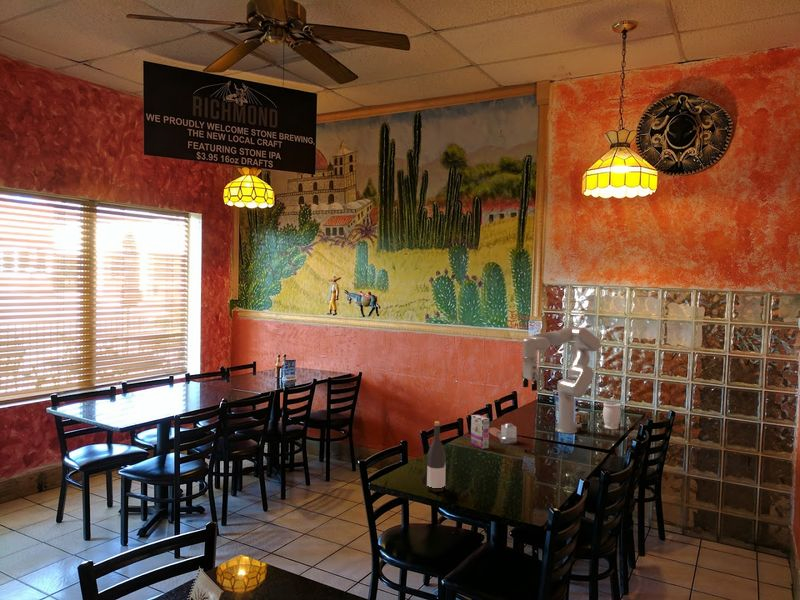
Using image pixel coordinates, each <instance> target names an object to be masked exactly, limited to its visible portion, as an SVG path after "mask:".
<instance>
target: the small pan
mask: <svg viewBox="0 0 800 600" xmlns="http://www.w3.org/2000/svg"><path fill="white" fill-rule="evenodd" d="M489 434H491V435H492V436H494V437H495V438H498V439H499V441H500V443H501V444H503V443H504V444H503V445H516V444H517V441H518V439H517V438H518V437H517V436H516V438H509V439H506V438H504V437H502V436H501V430H500V429H498V428H497V427H494V426H493V427H489ZM515 443H516V444H515Z"/></svg>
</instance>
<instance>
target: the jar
mask: <svg viewBox="0 0 800 600" xmlns="http://www.w3.org/2000/svg"><path fill="white" fill-rule="evenodd" d="M621 406H622V405H621V404H620V403H619V402H612V401H606V402H603V409H602V416H603V417H602V418H603V422H604V428H605V429H607V430H608V429H609V430H619V425H620V421H621V416H622V414H621V413H622V412H621Z"/></svg>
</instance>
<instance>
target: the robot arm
mask: <svg viewBox="0 0 800 600" xmlns="http://www.w3.org/2000/svg"><path fill="white" fill-rule="evenodd" d="M570 342H574V347H575V350H576V351H575V352H576V353H575V357H574V359H573V361H572V363H571V364H570V366H569V368H568V370H567V376H568V378H561V379H560V380H559V381H558V382H557V386H556V387H557V388H556V390H557V394H558V418H557V419H558V420H557V421H558V422H557V424H558V425H557V426H556V427H555V429H554V430H555V431H556V432H557V433H562V434H568V435H569V434H576V433H577V432H578V430H577V428H582V427H583V426H582V424H581V423H579V424H578V423H575V420H576V419H575V418H576V400H575V398H577V399H579V398H582V397H584V395H585V394H586V392H587V390H588V389H589V387H590V385H591V383H592V381H593V379H594V369H592V367H590V366H589V363H590V353H589V352H596V351H599V349H600V348H601V342H600V339H599V338H598V337H597V336H595V335H594V334H593V333H592V332H590V331H589V330H588V329H586V328H584V327H579V326H569V327H566V328H562V329H559V330H554V331H546V332H540V333H539V332H538V333H536V334H532V335H531V336H529V337H525V338H523V339H522V362H523V363H522V371H521V377H522V386H523V388H529V381H530V382H531V391H532V392H533V391H538V382H539V380H540V379H539V369H538V362H537V351H545V350H548V349H549V347H550V346H560V345H563V344H567V343H570ZM569 378H570V379H569Z"/></svg>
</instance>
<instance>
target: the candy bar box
mask: <svg viewBox="0 0 800 600" xmlns="http://www.w3.org/2000/svg"><path fill="white" fill-rule="evenodd" d="M470 416H471V417H470V422H471V423H470V445H471V446H474V447H476V446H477V447H476V448H478V447H479V449H480V448H481V450H486V449H490V433H489V428H490V419H491V418H489V417H486V416H483V415H480V414H471V415H470Z"/></svg>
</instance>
